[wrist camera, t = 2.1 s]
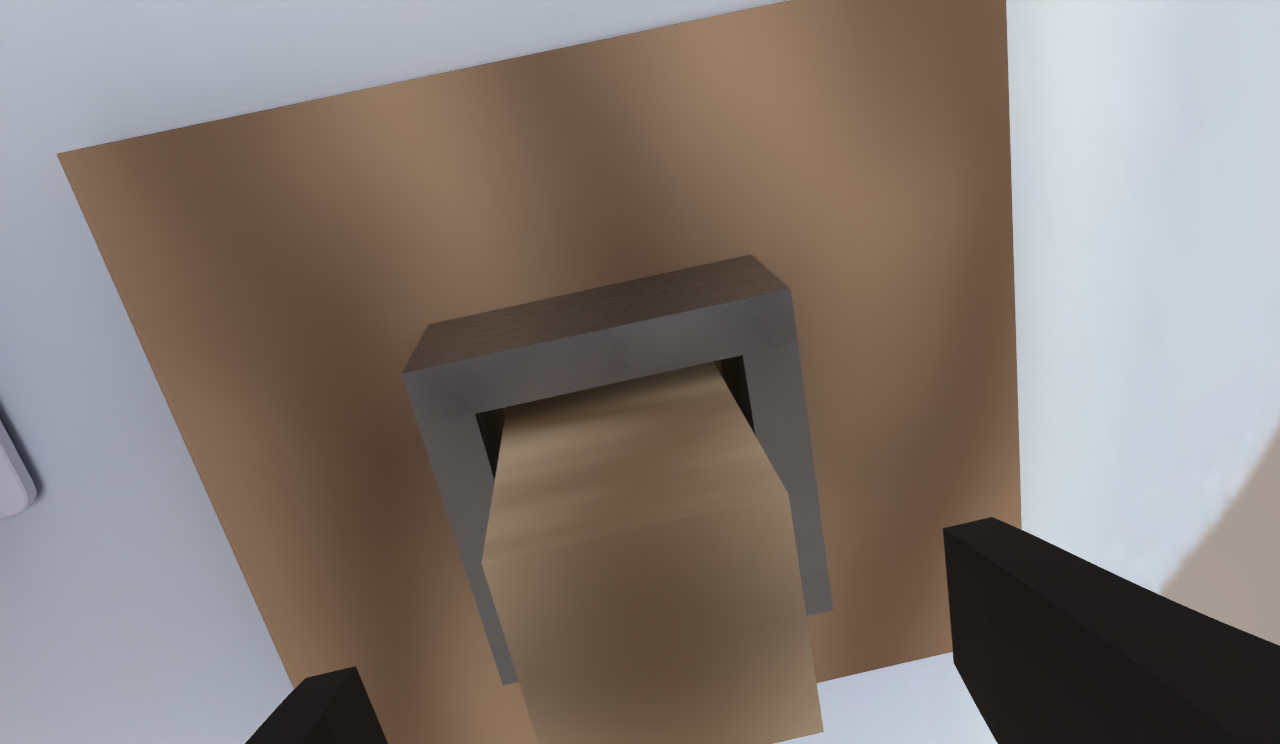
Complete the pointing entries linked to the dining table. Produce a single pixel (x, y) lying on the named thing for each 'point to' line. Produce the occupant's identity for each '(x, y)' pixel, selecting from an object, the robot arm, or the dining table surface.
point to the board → (571, 262)
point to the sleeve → (605, 354)
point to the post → (649, 569)
